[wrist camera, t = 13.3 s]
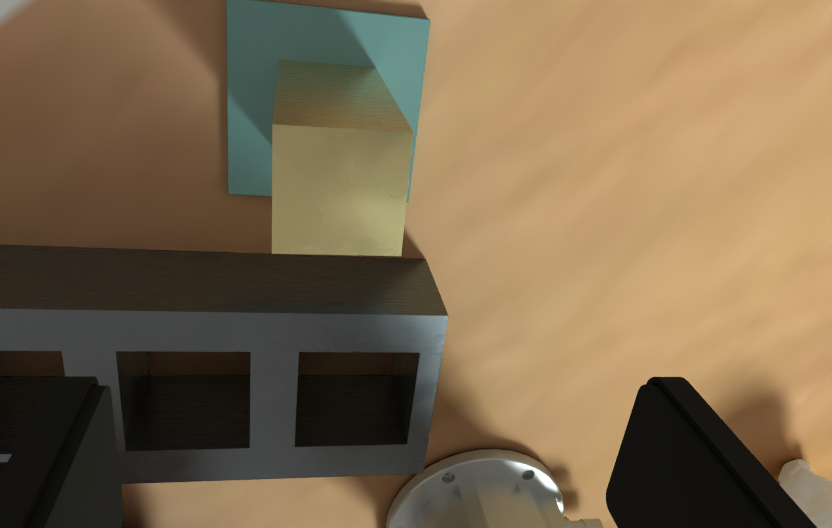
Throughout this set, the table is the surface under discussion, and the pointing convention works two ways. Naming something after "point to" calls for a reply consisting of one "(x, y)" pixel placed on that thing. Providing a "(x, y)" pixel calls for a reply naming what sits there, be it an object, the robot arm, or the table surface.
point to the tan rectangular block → (338, 162)
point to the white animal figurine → (808, 491)
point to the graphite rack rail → (230, 332)
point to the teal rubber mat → (308, 42)
